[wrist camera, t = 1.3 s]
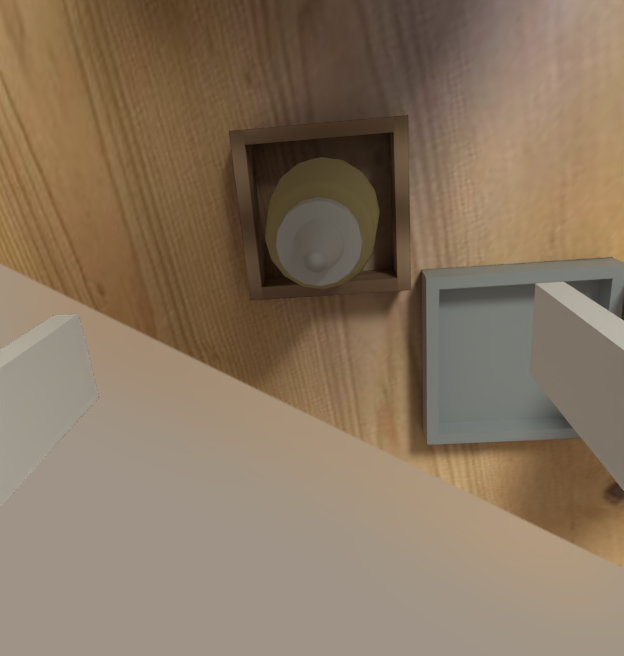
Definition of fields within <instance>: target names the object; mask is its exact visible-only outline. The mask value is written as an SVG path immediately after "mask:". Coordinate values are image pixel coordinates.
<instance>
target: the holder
mask: <svg viewBox="0 0 624 656" xmlns="http://www.w3.org/2000/svg"><path fill="white" fill-rule="evenodd" d="M389 132H390V159H391V195H392V231H393V268H394V269H383V270H368V271H361V272H360V273H359V274H358V275H356V276H355V277H353V278H352V279H351V280H349V281H348V282H346V283H345V284H343V285H339V286H335V287H331V288H327V289H318V288H310V287H303V286H301V285H299V284H298V283H296V282H294V281H292V280H291V279H289V278H287V277H285V276H279V277H266V269H265V260H264V252H263V243H262V234H261V225H260V216H259V208H258V199H257V190H256V181H255V173H254V164H253V155H252V146H251V144H260V143H272V142H284V141H296V140H307V139H319V138H331V137H342V136H354V135H366V134H378V133H389ZM229 135H230V143H231V151H232V159H233V167H234V175H235V183H236V191H237V198H238V206H239V214H240V222H241V230H242V238H243V246H244V254H245V262H246V269H247V277H248V285H249V293H250V300H264V299H279V298H295V297H311V296H326V295H342V294H357V293H373V292H388V291H404V290H411V267H410V205H409V143H408V115H407V116H395V117H384V118H372V119H361V120H349V121H338V122H327V123H315V124H304V125H292V126H281V127H269V128H258V129H247V130H235V131H229Z"/></svg>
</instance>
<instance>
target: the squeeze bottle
mask: <svg viewBox="0 0 624 656" xmlns="http://www.w3.org/2000/svg"><path fill="white" fill-rule="evenodd" d="M379 213H380V211H379V206H378V202H377V197H376V193H375V190H374V188H373V187H372V185H371V184H370V183H369V181H368V180H367V178H366V177H365V175H364V174H363V173H362V172H361V171H360V170H358V169H357V168H355V167H353V166H352V165H350V164H348V163H347V162H345V161H343V160H339V159H332V158H325V157H318V158H315V159H311V160H307V161H304V162H300V163H298V164H297V165H296V166H294V167H293V168H292V169H291V170H289V171H288V172H287V173H286V174H284V175H283V176H282V177H281V178H280V180H279V182H278V184H277V186H276V188H275V190H274V191H273V193H272V195H271V198H270V204H269V209H268V215H267V224H266V234H265V241H266V244H267V247H268V251H269V254H270V257H271V260H272V261H273V262H274V264H275V265H276V266H277V267H278V269H279V270H280V271H281V272H282V274H283V275H284V276H285V277H287V278H289V279H291V280H292V281H294V282H296V283H298V284H299V285H301V286H303V287H310V288H318V289H327V288H331V287H335V286H339V285H343V284H345V283H346V282H348V281H349V280H351V279H352V278H353V277H355V276H356V275H358V274H359V273H360V272H361V271H362V270H363V268H364V267H365V265H366V263H367V262H368V260H369V259H370V257H371V256H372V254H373V249H374V243H375V237H376V231H377V225H378V219H379Z"/></svg>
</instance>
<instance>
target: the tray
mask: <svg viewBox="0 0 624 656" xmlns="http://www.w3.org/2000/svg"><path fill="white" fill-rule="evenodd" d="M551 282H565V283H567V284H568V285H570V286H571V287H573V288H574V289H576V290H577V291H579V292H581V293H582V294H584V295H585V296H587V297H588V298H590V299H591V300H593V301H594V302H596V303H597V304H599V305H601V306H602V307H604V308H605V309H607V310H608V311H610V312H611V313H613V314H614V315H616V316H617V317H619V318H621V315H622V307H623V300H624V263H623V262H621V261H619V260H617V259H615V258H612V257H608V258H593V259H578V260H563V261H548V262H533V263H518V264H503V265H488V266H473V267H458V268H443V269H428V270H421V285H422V397H423V432H424V436H425V439H426V443H427V445H435V444H458V443H481V442H504V441H527V440H550V439H573V438H581V437H580V436H579V435H578V434H577V432H576V431H575V430H574V429H573V427H572V426H571V425H570V424H569V422H568V421H567V420H566V419H565V417H564V416H563V415H562V414H561V412H560V411H559V410H558V409H557V407H556V406H555V405H554V404H553V402H552V401H551V400H550V399H549V397H548V396H547V395H546V394H545V392H544V391H543V390H542V389H541V387H540V386H539V385H538V384H537V382H536V381H535V380H534V379H533V377H532V376H531V375H530V359H531V344H532V328H533V313H534V298H535V284H536V283H551Z"/></svg>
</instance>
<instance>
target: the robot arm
mask: <svg viewBox="0 0 624 656" xmlns="http://www.w3.org/2000/svg"><path fill="white" fill-rule="evenodd" d="M530 375H531V376H532V377H533V379H534V380H535V381H536V382H537V384H538V385H539V386H540V387H541V389H542V390H543V391H544V392H545V394H546V395H547V396H548V397H549V399H550V400H551V401H552V402H553V404H554V405H555V406H556V407H557V409H558V410H559V411H560V412H561V414H562V415H563V416H564V417H565V419H566V420H567V421H568V422H569V424H570V425H571V426H572V427H573V429H574V430H575V431H576V432H577V434H578V435H579V436H580V437H581V439H582V440H583V441H584V442H585V443H586V445H587V446H588V447H589V448H590V450H591V451H592V452H593V453H594V455H595V456H596V457H597V458H598V460H599V461H600V462H601V463H602V465H603V466H604V467H605V468H606V470H607V471H608V472H609V473H610V475H611V476H612V477H613V478H614V480H615V481H616V482H617V483H618V485H619V486H620V487H621V488H622V490H623V491H624V320H622V319H621V318H619V317H617V316H616V315H614V314H613V313H611V312H610V311H608V310H607V309H605V308H604V307H602V306H601V305H599V304H597V303H596V302H594V301H593V300H591V299H590V298H588V297H587V296H585V295H584V294H582V293H581V292H579V291H577V290H576V289H574V288H573V287H571V286H570V285H568V284H567V283H565V282H551V283H536V284H535V298H534V313H533V328H532V344H531V359H530ZM98 398H99V394H98V390H97V387H96V382H95V379H94V374H93V370H92V366H91V362H90V358H89V354H88V350H87V346H86V342H85V338H84V334H83V330H82V326H81V322H80V318H79V314H68V315H53V316H52V317H50V318H49V319H47V320H46V321H44V322H43V323H41V324H39V325H38V326H36V327H35V328H33V329H32V330H30V331H28V332H27V333H25V334H24V335H23V336H21V337H19V338H18V339H16V340H14V341H13V342H11V343H10V344H8V345H7V346H5V347H3V348H2V349H0V506H1V505H2V504H3V503H4V502H5V501H6V500H7V498H8V497H9V496H10V495H11V494H12V493H13V492H14V491H15V490H16V489H17V487H18V486H19V485H20V484H21V483H22V482H23V481H24V480H25V478H26V477H27V476H28V475H29V474H30V473H31V472H32V471H33V470H34V468H36V466H37V465H38V464H39V463H40V462H41V461H42V460H43V459H44V458H45V457H46V455H47V454H48V453H49V452H50V451H51V450H52V449H53V448H54V447H55V446H56V444H57V443H58V442H59V441H60V440H61V439H62V438H63V437H64V436H65V434H66V433H67V432H68V431H69V430H70V429H71V428H72V427H73V425H74V424H75V423H76V422H77V421H78V420H79V419H80V418H81V417H82V415H83V414H84V413H85V412H86V411H87V410H88V409H89V408H90V407H91V406H92V404H93V403H94V402H95V401H96V400H97V399H98Z"/></svg>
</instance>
